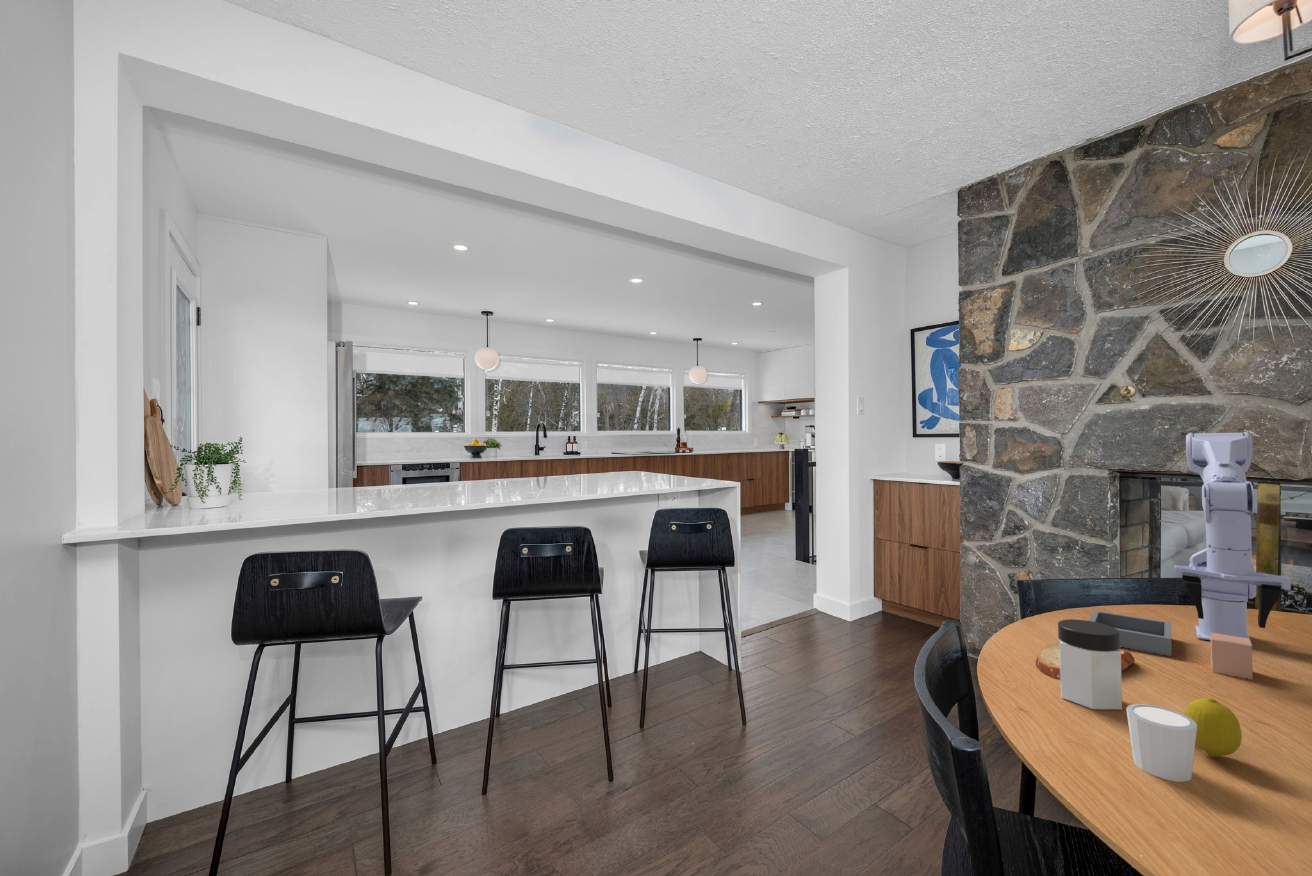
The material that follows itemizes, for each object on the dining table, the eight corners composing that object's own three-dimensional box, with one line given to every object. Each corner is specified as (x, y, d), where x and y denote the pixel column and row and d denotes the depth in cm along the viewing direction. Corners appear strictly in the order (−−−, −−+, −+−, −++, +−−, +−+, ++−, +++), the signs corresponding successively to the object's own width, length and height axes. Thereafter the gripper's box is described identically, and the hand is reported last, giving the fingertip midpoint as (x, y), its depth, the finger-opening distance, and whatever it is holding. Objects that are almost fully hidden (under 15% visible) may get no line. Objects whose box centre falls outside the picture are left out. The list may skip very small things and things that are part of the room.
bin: (1094, 625, 126) (1093, 610, 126) (1171, 638, 117) (1170, 622, 117) (1087, 640, 116) (1087, 624, 116) (1171, 656, 107) (1171, 638, 107)
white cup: (1113, 755, 75) (1112, 704, 75) (1159, 751, 75) (1158, 701, 75) (1164, 786, 68) (1163, 730, 68) (1214, 782, 69) (1213, 727, 69)
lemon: (1254, 770, 71) (1253, 709, 71) (1204, 766, 72) (1203, 705, 72) (1220, 747, 76) (1218, 690, 76) (1174, 743, 77) (1172, 687, 77)
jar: (1135, 704, 89) (1133, 630, 89) (1108, 716, 85) (1106, 639, 85) (1073, 682, 97) (1071, 615, 97) (1046, 692, 93) (1044, 622, 93)
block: (1211, 663, 104) (1210, 632, 104) (1249, 671, 100) (1248, 638, 101) (1212, 672, 100) (1211, 639, 100) (1252, 679, 97) (1251, 646, 97)
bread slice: (1047, 682, 98) (1046, 661, 98) (1016, 645, 115) (1016, 628, 115) (1171, 695, 92) (1171, 673, 92) (1120, 655, 110) (1119, 636, 110)
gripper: (1174, 546, 102) (1175, 618, 102) (1292, 556, 92) (1294, 636, 92) (1173, 540, 107) (1175, 609, 107) (1286, 549, 97) (1288, 625, 97)
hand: (1230, 621), depth 100 cm, fingers open, 7 cm apart
